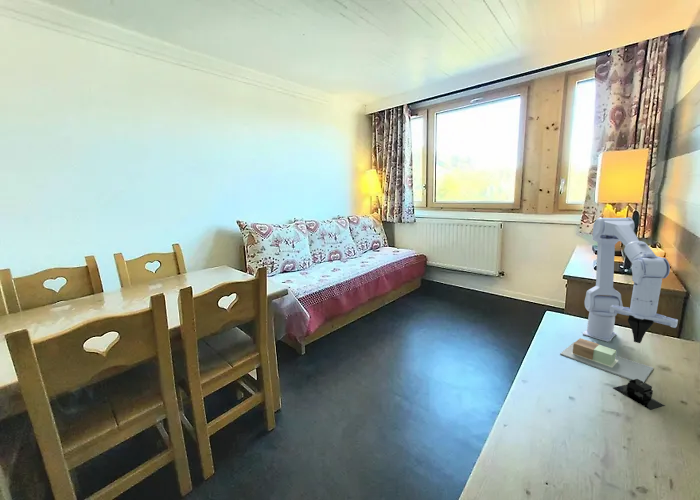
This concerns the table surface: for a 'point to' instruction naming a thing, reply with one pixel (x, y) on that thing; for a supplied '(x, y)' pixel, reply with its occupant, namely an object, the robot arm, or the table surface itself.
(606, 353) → the green block
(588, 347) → the walnut block
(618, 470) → the table surface
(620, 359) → the plate
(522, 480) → the table surface
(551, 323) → the table surface
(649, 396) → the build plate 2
